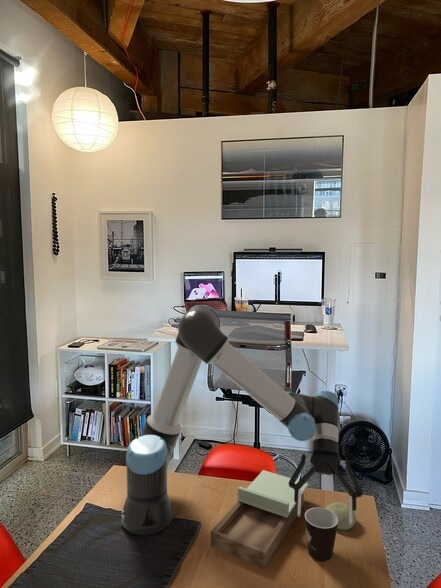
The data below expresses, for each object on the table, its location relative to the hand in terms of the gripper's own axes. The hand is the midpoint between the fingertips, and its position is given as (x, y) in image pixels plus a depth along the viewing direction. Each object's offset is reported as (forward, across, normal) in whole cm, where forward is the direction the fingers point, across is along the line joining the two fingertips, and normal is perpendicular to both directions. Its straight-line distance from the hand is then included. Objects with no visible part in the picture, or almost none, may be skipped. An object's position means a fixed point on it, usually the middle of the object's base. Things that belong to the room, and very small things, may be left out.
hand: (324, 519), depth 112 cm
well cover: (-8, +15, -12) cm, 21 cm away
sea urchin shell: (-2, -5, -14) cm, 15 cm away
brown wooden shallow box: (+2, +18, -8) cm, 20 cm away
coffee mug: (+7, +1, -4) cm, 8 cm away
